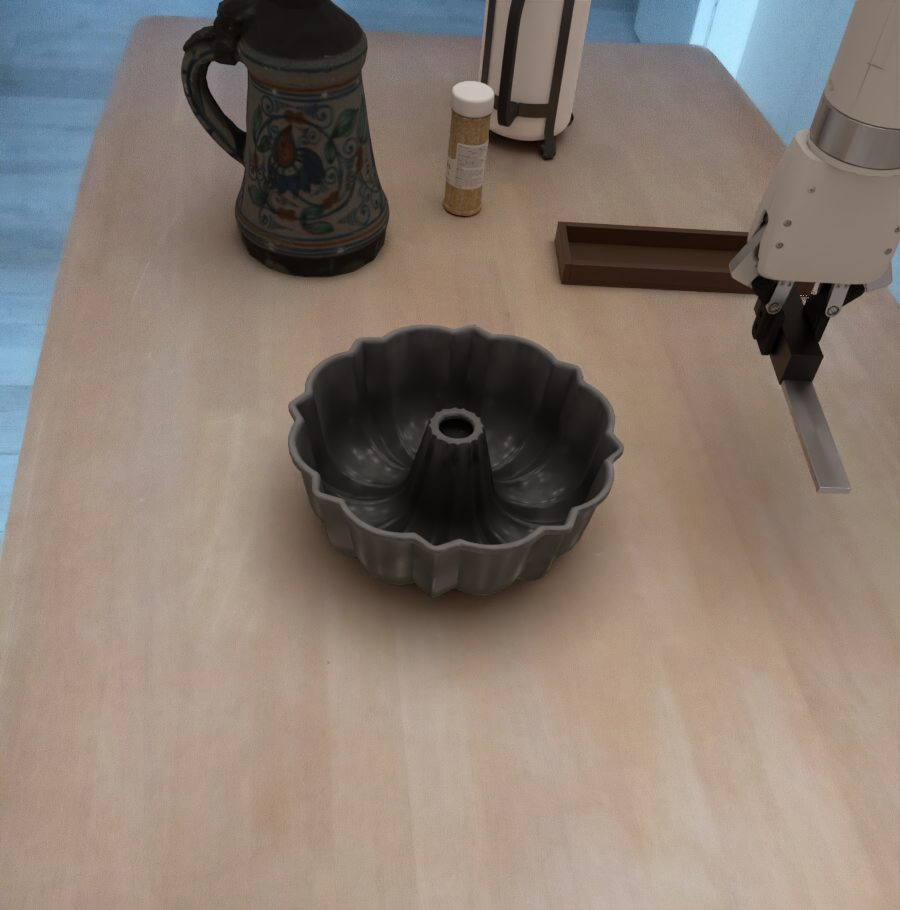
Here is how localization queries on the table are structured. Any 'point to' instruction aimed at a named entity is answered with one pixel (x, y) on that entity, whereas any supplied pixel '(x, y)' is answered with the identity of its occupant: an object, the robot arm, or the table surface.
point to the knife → (806, 394)
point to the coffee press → (533, 66)
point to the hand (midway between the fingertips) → (781, 344)
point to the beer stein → (295, 132)
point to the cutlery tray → (651, 257)
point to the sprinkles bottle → (468, 146)
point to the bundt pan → (452, 456)
